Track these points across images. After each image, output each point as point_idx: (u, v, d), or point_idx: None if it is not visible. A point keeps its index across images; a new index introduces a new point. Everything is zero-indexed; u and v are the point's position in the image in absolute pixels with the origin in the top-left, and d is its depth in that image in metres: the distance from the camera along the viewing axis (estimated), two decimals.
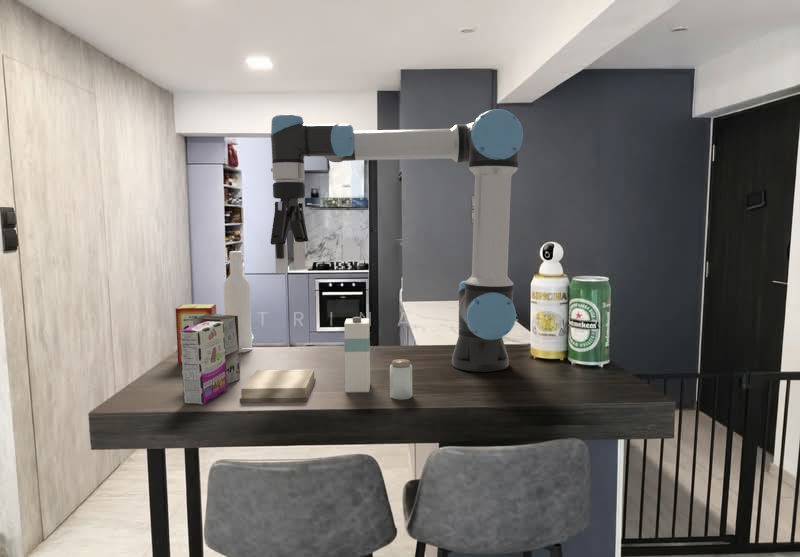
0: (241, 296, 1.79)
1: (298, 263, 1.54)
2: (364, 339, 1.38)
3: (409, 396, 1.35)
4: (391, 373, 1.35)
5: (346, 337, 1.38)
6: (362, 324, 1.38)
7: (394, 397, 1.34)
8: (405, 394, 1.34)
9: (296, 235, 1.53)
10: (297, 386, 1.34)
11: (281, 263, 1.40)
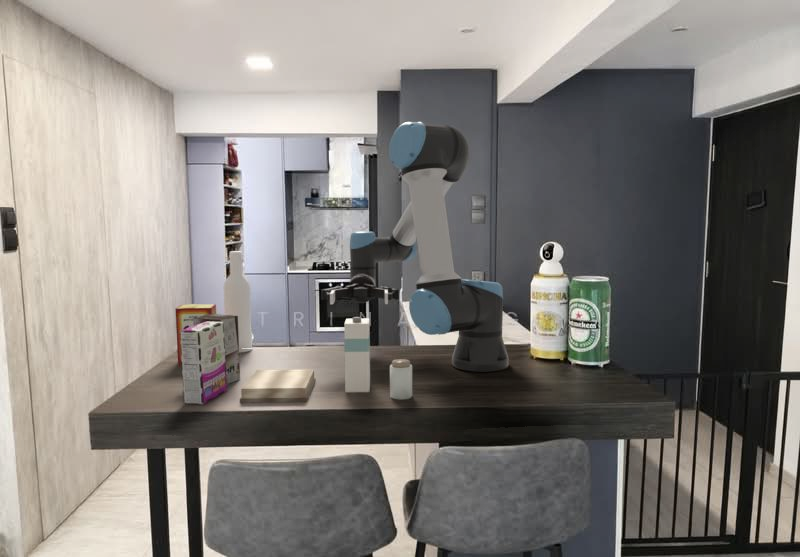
0: (241, 296, 1.79)
1: None
2: (364, 339, 1.38)
3: (409, 396, 1.35)
4: (391, 373, 1.35)
5: (346, 337, 1.38)
6: (362, 324, 1.38)
7: (394, 397, 1.34)
8: (405, 394, 1.34)
9: (383, 295, 1.59)
10: (297, 386, 1.34)
11: None
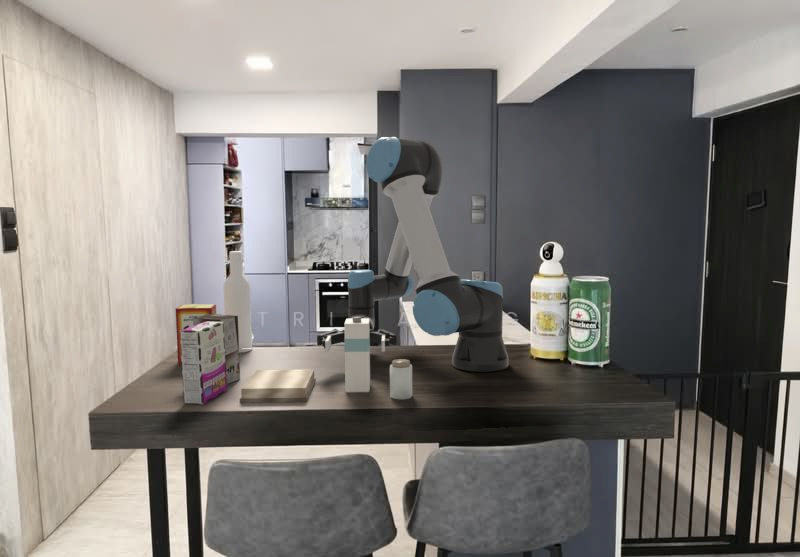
0: (241, 296, 1.79)
1: None
2: (364, 339, 1.38)
3: (409, 396, 1.35)
4: (391, 373, 1.35)
5: (346, 337, 1.38)
6: (362, 324, 1.38)
7: (394, 397, 1.34)
8: (405, 394, 1.34)
9: (380, 340, 1.55)
10: (297, 386, 1.34)
11: None
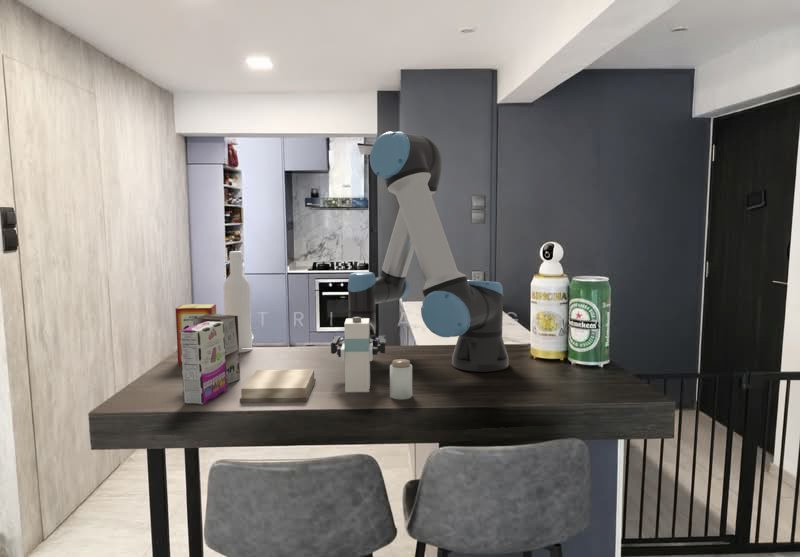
0: (241, 296, 1.79)
1: None
2: (364, 339, 1.38)
3: (409, 396, 1.35)
4: (391, 373, 1.35)
5: (346, 337, 1.38)
6: (362, 324, 1.38)
7: (395, 397, 1.34)
8: (405, 394, 1.34)
9: None
10: (297, 386, 1.34)
11: None
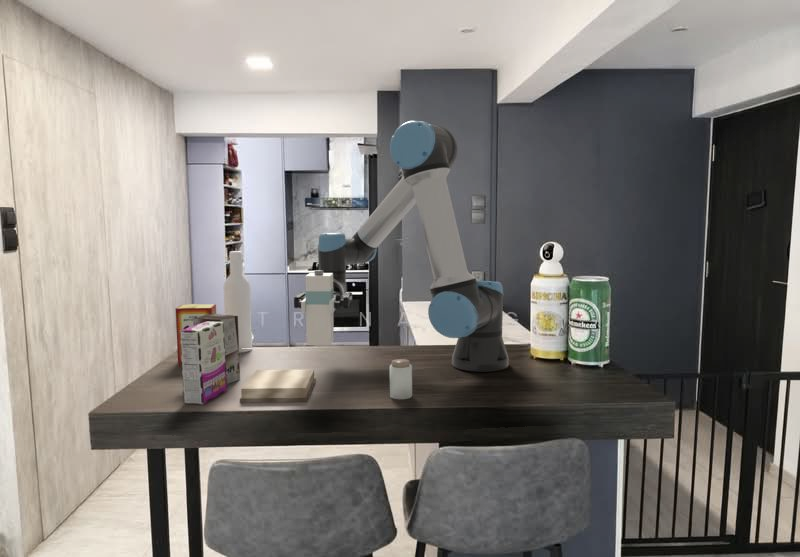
0: (241, 296, 1.79)
1: None
2: (326, 292, 1.38)
3: (409, 396, 1.35)
4: (391, 373, 1.35)
5: (307, 290, 1.38)
6: (323, 277, 1.38)
7: (395, 397, 1.34)
8: (405, 394, 1.34)
9: None
10: (297, 386, 1.34)
11: None
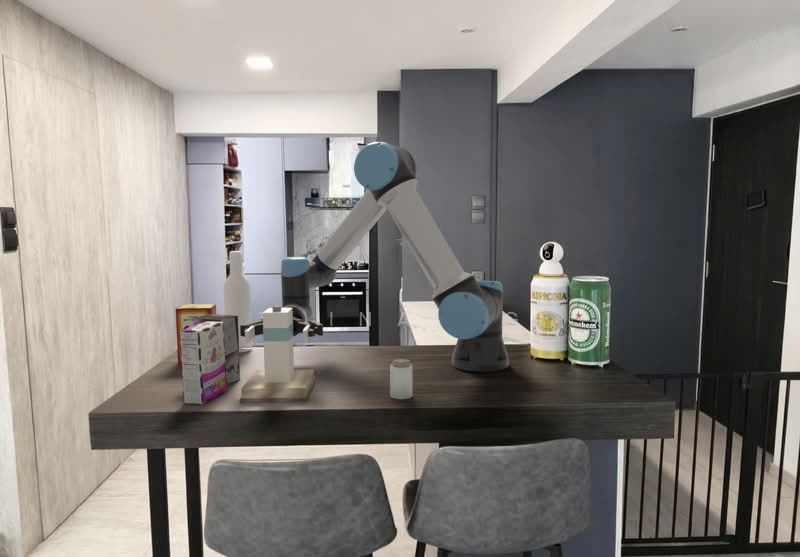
0: (241, 296, 1.79)
1: None
2: (283, 328, 1.36)
3: (409, 396, 1.35)
4: (391, 373, 1.35)
5: (265, 326, 1.36)
6: (281, 313, 1.36)
7: (395, 397, 1.34)
8: (406, 394, 1.34)
9: None
10: (297, 386, 1.34)
11: None
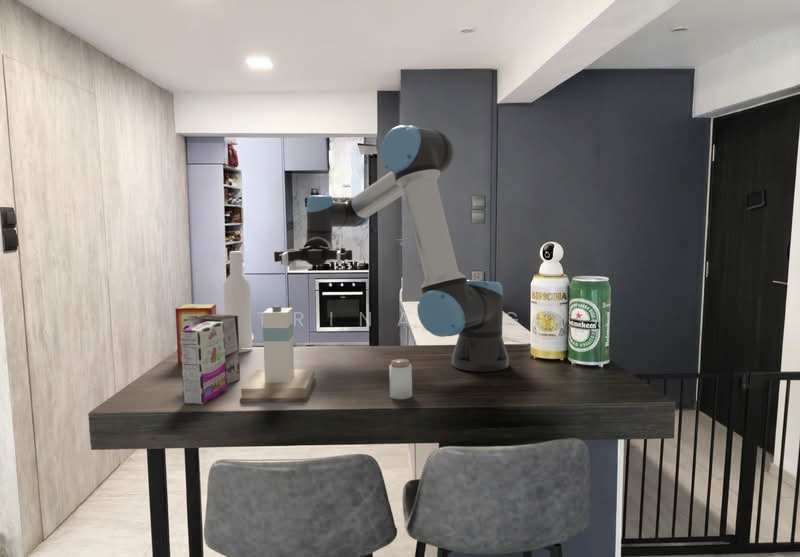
0: (241, 296, 1.79)
1: None
2: (283, 328, 1.36)
3: (409, 395, 1.35)
4: (391, 373, 1.34)
5: (265, 326, 1.36)
6: (281, 313, 1.36)
7: (395, 397, 1.34)
8: (406, 394, 1.34)
9: (336, 256, 1.60)
10: (297, 386, 1.34)
11: None
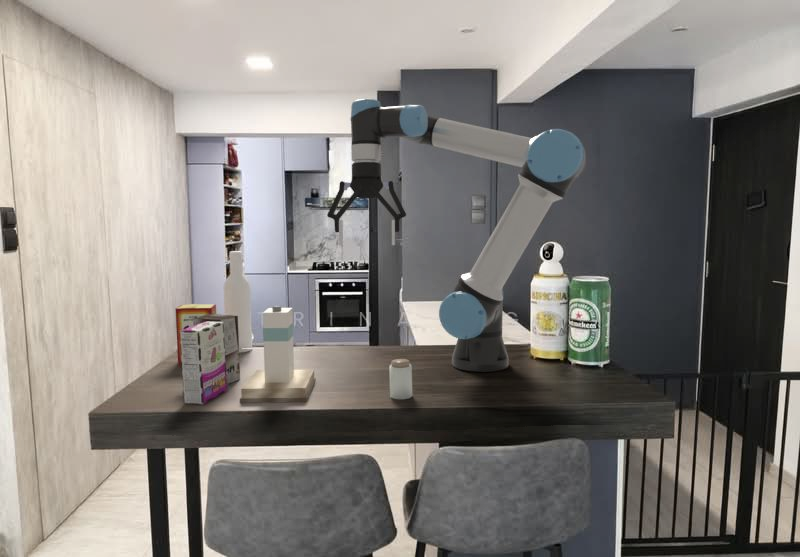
0: (241, 296, 1.79)
1: None
2: (283, 328, 1.36)
3: (410, 395, 1.35)
4: (391, 373, 1.34)
5: (265, 326, 1.36)
6: (281, 313, 1.36)
7: (395, 397, 1.34)
8: (406, 394, 1.34)
9: None
10: (297, 386, 1.34)
11: None
